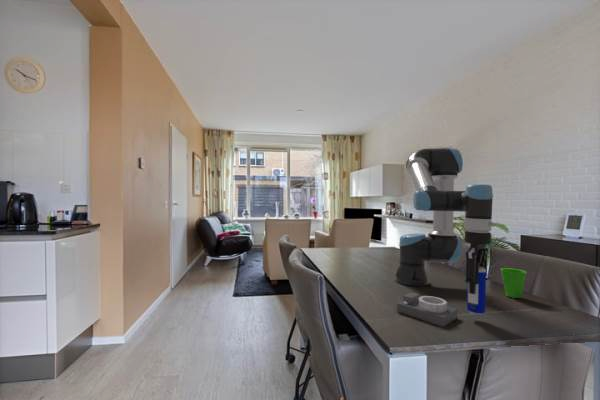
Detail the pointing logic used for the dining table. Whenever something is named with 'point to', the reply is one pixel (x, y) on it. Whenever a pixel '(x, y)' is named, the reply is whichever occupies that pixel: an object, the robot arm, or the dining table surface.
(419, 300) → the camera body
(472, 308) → the beverage can
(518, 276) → the cup
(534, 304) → the dining table surface
